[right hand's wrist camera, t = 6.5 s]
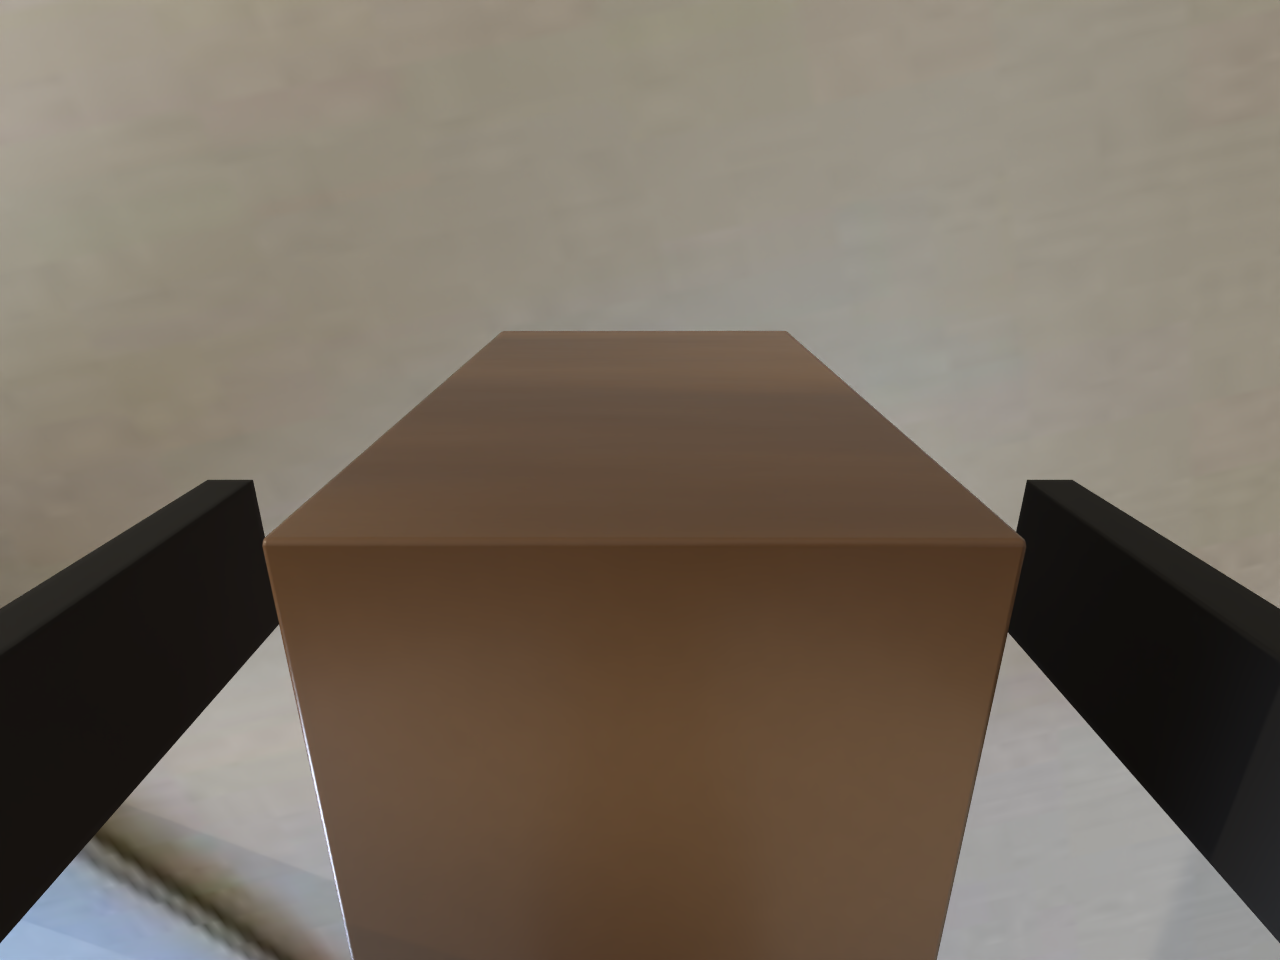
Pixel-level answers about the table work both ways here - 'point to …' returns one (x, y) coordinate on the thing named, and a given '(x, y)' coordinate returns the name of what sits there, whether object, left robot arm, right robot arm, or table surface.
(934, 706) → the box
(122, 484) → the table surface
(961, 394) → the table surface
